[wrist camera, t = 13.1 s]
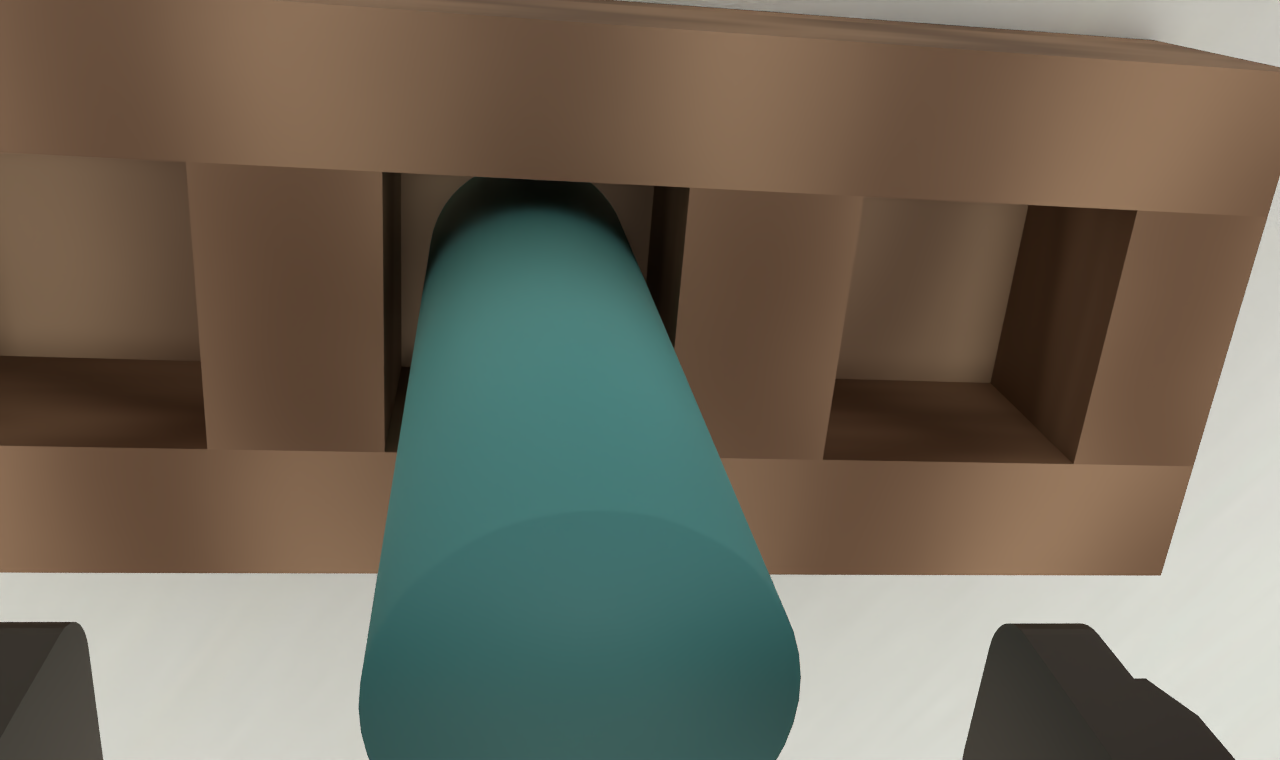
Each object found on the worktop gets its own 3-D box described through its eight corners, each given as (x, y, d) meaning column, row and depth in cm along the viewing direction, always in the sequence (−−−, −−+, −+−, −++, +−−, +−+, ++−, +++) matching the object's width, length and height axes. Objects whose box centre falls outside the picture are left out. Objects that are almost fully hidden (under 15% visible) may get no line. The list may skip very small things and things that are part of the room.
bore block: (-99, 443, 24) (-238, 572, 19) (-195, -60, 20) (-396, -48, 16) (1050, 463, 28) (1161, 575, 23) (1153, 40, 24) (1309, 74, 19)
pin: (430, 156, 22) (354, 508, 9) (633, 166, 23) (829, 511, 10) (428, 347, 24) (361, 880, 11) (619, 352, 24) (772, 863, 11)
